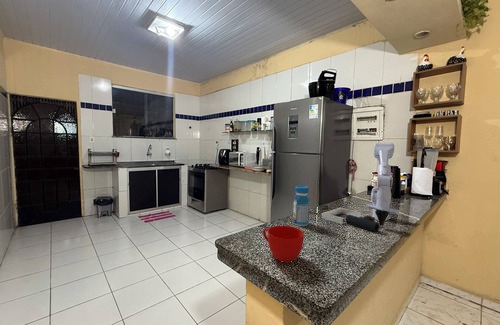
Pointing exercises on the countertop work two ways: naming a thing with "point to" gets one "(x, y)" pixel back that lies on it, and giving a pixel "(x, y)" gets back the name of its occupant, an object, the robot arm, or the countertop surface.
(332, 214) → the aluminium bracket
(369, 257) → the countertop surface
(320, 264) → the countertop surface
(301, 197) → the beverage bottle
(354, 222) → the pipe connector
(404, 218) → the countertop surface
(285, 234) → the ceramic cup
